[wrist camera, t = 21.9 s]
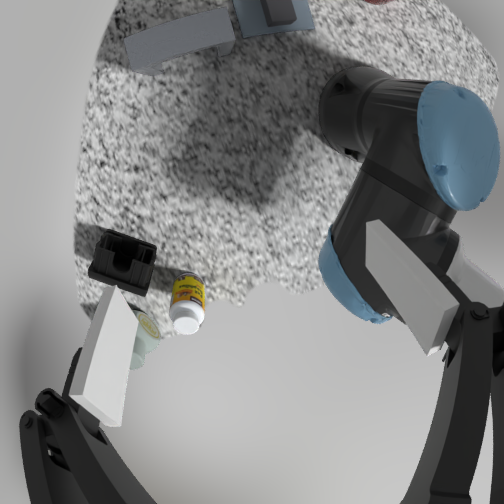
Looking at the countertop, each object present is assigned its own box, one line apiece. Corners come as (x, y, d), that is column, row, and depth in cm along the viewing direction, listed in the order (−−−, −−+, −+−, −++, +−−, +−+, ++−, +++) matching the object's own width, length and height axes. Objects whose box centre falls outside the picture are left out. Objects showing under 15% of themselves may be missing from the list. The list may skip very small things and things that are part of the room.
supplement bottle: (208, 276, 49) (209, 318, 40) (199, 299, 52) (198, 341, 43) (177, 267, 47) (172, 309, 39) (170, 291, 50) (164, 333, 41)
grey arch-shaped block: (222, 29, 29) (226, 6, 19) (229, 54, 31) (235, 39, 22) (146, 51, 29) (123, 38, 20) (153, 76, 31) (132, 71, 22)
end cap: (98, 260, 45) (85, 284, 39) (105, 226, 42) (91, 248, 36) (149, 279, 48) (143, 304, 42) (160, 246, 45) (154, 271, 39)
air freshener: (104, 311, 51) (92, 349, 42) (133, 296, 49) (122, 336, 41) (139, 343, 56) (132, 381, 48) (167, 331, 55) (164, 371, 47)
